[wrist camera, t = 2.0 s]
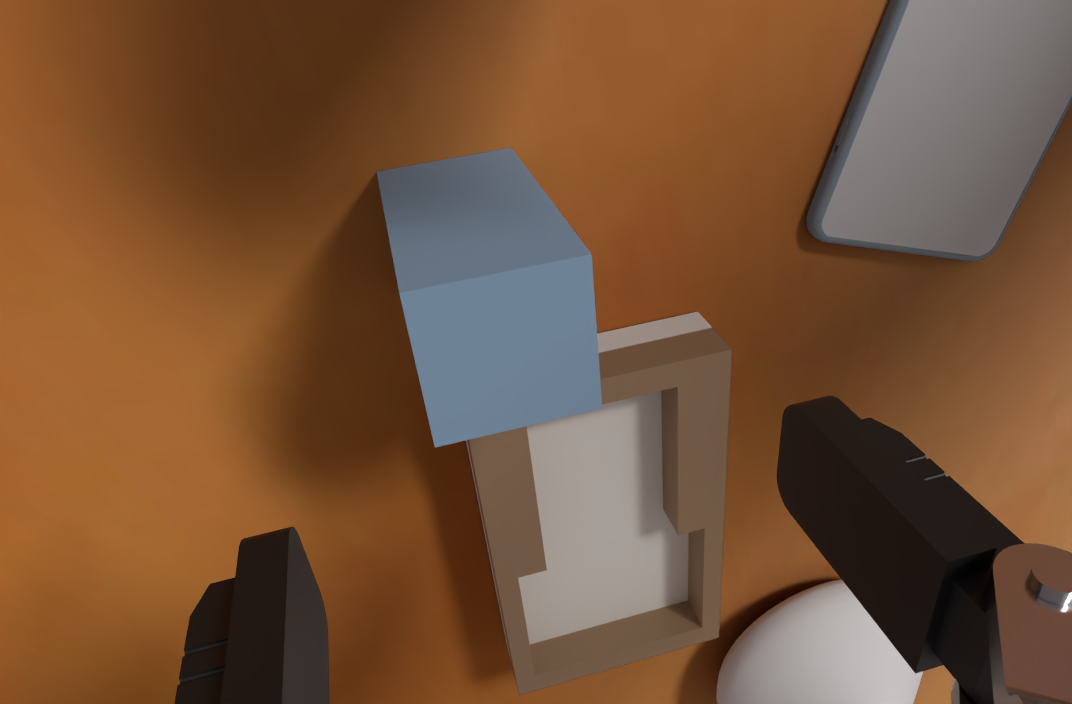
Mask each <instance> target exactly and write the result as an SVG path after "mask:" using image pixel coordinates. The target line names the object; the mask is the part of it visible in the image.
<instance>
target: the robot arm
mask: <svg viewBox="0 0 1072 704" xmlns="http://www.w3.org/2000/svg"><path fill="white" fill-rule="evenodd" d="M777 483H778V488H779V492H780V495H781V498H782V500H783V502H784V505H785V506H786V508H787V510H788V511H789V513H790V514H791V515H792V516H793V518H794V519H795V520H796V522H797V523H798V524H799V525H800V527H801V528H802V529H803V531H804V532H805V533H806V534H807V536H808V537H809V538H810V539H811V541H812V542H813V543H814V545H815V546H816V547H817V548H818V550H819V551H820V552H821V554H822V555H823V556H824V557H825V559H826V560H827V561H828V562H829V564H830V565H831V566H832V568H833V569H834V570H835V571H836V573H837V574H838V575H839V577H840V578H841V579H842V580H843V582H844V583H845V584H846V586H847V587H848V588H849V589H850V591H851V592H852V593H853V594H854V596H855V597H856V598H857V600H858V601H859V602H860V603H861V605H862V606H863V607H864V609H865V610H866V611H867V612H868V614H869V615H870V616H871V617H872V619H873V620H874V621H875V623H876V624H877V625H878V626H879V628H880V629H881V630H882V632H883V633H884V634H885V635H886V637H887V638H888V639H889V641H890V642H891V643H892V644H893V646H894V647H895V648H896V649H897V651H898V652H899V653H900V655H901V656H902V657H903V658H904V660H905V661H906V662H907V664H908V665H909V666H910V667H911V669H912V670H913V671H914V672H915V674H916V673H919V672H922V671H925V670H928V669H931V668H935V667H938V666H941V665H944V666H945V667H946V668H947V670H948V671H949V672H950V673H951V674H952V676H953V677H954V681H953V684H952V689H951V702H952V704H1072V553H1070V552H1068V551H1065V550H1062V549H1059V548H1056V547H1052V546H1048V545H1042V544H1031V543H1026V544H1025V543H1024V542H1022V541H1021V540H1020V539H1019V538H1018V537H1016V536H1015V535H1014V534H1013V533H1012V532H1011V531H1010V530H1009V529H1008V528H1006V527H1005V526H1004V525H1003V524H1002V523H1001V522H1000V521H999V520H998V519H996V518H995V517H994V516H993V515H992V514H991V513H990V512H989V511H988V510H986V509H985V508H984V507H983V506H982V505H981V504H980V503H979V502H978V501H976V500H975V499H974V498H973V497H972V496H971V495H970V494H969V493H968V492H966V491H965V490H964V489H963V488H962V487H961V486H960V485H959V484H958V483H956V482H955V481H954V480H953V479H952V478H951V477H950V476H948V477H946V476H945V474H944V471H943V470H942V469H941V468H940V467H939V466H938V465H936V464H935V463H934V462H933V461H932V460H931V459H926V457H925V454H924V453H923V452H922V451H921V450H920V449H919V448H918V447H916V446H915V445H914V444H913V443H912V442H911V441H910V440H909V439H907V438H906V437H905V436H904V435H903V434H902V433H900V432H898V431H896V430H894V429H892V428H890V427H888V426H886V425H884V424H882V423H880V422H878V421H876V420H874V419H872V418H866V419H862V420H861V419H860V418H859V417H858V416H857V415H856V414H854V413H853V412H852V411H851V410H850V409H849V408H848V407H847V406H846V405H845V404H844V403H843V402H842V401H841V400H839V399H838V398H836V397H834V396H826V397H822V398H818V399H814V400H809V401H805V402H801V403H797V404H793V405H790V406H788V407H786V409H785V410H784V413H783V418H782V428H781V438H780V448H779V458H778V467H777ZM184 651H185V656H184V657H183V659H182V664H181V670H180V676H179V679H180V685H178V687H177V692H176V698H175V704H329V657H328V627H327V619H326V613H325V608H324V603H323V599H322V596H321V593H320V590H319V587H318V585H317V582H316V579H315V577H314V574H313V572H312V569H311V566H310V564H309V561H308V558H307V556H306V553H305V551H304V548H303V545H302V543H301V540H300V537H299V535H298V533H297V531H296V529H295V528H294V527H289V528H285V529H281V530H277V531H273V532H269V533H265V534H261V535H257V536H252V537H248V538H244V539H242V540H241V542H240V545H239V551H238V560H237V568H236V576H235V578H231V579H227V580H224V581H220V582H216V583H212V584H210V585H209V586H208V588H207V590H206V591H205V593H204V595H203V596H202V598H201V599H200V601H199V603H198V604H197V606H196V608H195V609H194V611H193V612H192V614H191V616H190V619H189V625H188V630H187V636H186V642H185V647H184Z"/></svg>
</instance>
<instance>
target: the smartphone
mask: <svg viewBox="0 0 1072 704" xmlns="http://www.w3.org/2000/svg"><path fill="white" fill-rule="evenodd" d="M1071 103H1072V0H890V1H889V4H888V6H887V9H886V11H885V14H884V17H883V19H882V22H881V24H880V27H879V29H878V32H877V34H876V37H875V39H874V42H873V45H872V47H871V50H870V52H869V55H868V57H867V60H866V63H865V65H864V68H863V70H862V73H861V75H860V78H859V81H858V83H857V86H856V88H855V91H854V93H853V96H852V99H851V101H850V104H849V106H848V109H847V112H846V114H845V117H844V119H843V122H842V124H841V127H840V130H839V132H838V135H837V137H836V140H835V142H834V145H833V148H832V150H831V153H830V155H829V158H828V161H827V163H826V166H825V168H824V171H823V173H822V176H821V179H820V181H819V184H818V186H817V189H816V192H815V194H814V197H813V200H812V202H811V205H810V207H809V210H808V213H807V217H806V225H807V229H808V231H809V232H810V234H811V235H812V236H813V237H815V238H816V239H818V240H819V241H822V242H826V243H833V244H841V245H849V246H856V247H864V248H872V249H879V250H887V251H895V252H902V253H910V254H917V255H925V256H933V257H940V258H948V259H956V260H963V261H978V260H981V259H983V258H985V257H987V256H988V255H990V254H991V253H992V252H993V251H994V250H995V249H996V247H997V246H998V245H999V243H1000V241H1001V239H1002V237H1003V235H1004V233H1005V231H1006V229H1007V227H1008V225H1009V223H1010V221H1011V219H1012V217H1013V216H1014V214H1015V212H1016V210H1017V208H1018V206H1019V204H1020V202H1021V200H1022V198H1023V196H1024V194H1025V192H1026V190H1027V188H1028V186H1029V185H1030V183H1031V181H1032V179H1033V177H1034V175H1035V173H1036V171H1037V169H1038V167H1039V165H1040V163H1041V161H1042V159H1043V157H1044V155H1045V153H1046V152H1047V150H1048V148H1049V146H1050V144H1051V142H1052V140H1053V138H1054V136H1055V134H1056V132H1057V130H1058V128H1059V126H1060V124H1061V122H1062V120H1063V119H1064V117H1065V115H1066V113H1067V111H1068V109H1069V107H1070V105H1071Z"/></svg>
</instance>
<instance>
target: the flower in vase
mask: <svg viewBox="0 0 1072 704" xmlns="http://www.w3.org/2000/svg"><path fill="white" fill-rule="evenodd" d="M922 673H923V671H922V672H919V673H916V674H915V672H914V671H913V670H912V669H911V667H910V666H909V665H908V664H907V662H906V661H905V660H904V658H903V657H902V656H901V655H900V653H899V652H898V651H897V649H896V648H895V647H894V646H893V644H892V643H891V642H890V641H889V639H888V638H887V637H886V635H885V634H884V633H883V632H882V630H881V629H880V628H879V626H878V625H877V624H876V623H875V621H874V620H873V619H872V617H871V616H870V615H869V614H868V612H867V611H866V610H865V609H864V607H863V606H862V605H861V603H860V602H859V601H858V600H857V598H856V597H855V596H854V594H853V593H852V592H851V591H850V589H849V588H848V587H847V586H846V584H845V583H844V582H843V580H842V579H839V580H834V581H830V582H826V583H823V584H820V585H817V586H814V587H811V588H809V589H806V590H804V591H802V592H799V593H797V594H795V595H793V596H791V597H789V598H788V599H786V600H784V601H782V602H781V603H779V604H777V605H776V606H774V607H773V608H771V609H770V610H768V611H767V612H765V613H764V614H763V615H762V616H760V617H759V618H758V619H757V620H755V621H754V622H753V623H752V624H751V625H750V626H749V627H748V628H747V629H746V630H745V631H744V632H743V633H742V634H741V635H740V636H739V638H738V639H737V640H736V641H735V643H734V644H733V645H732V647H731V648H730V649H729V651H728V653H727V655H726V656H725V658H724V660H723V663H722V665H721V668H720V672H719V676H718V683H717V691H716V700H717V704H913V702H914V699H915V696H916V693H917V690H918V687H919V684H920V680H921V677H922Z"/></svg>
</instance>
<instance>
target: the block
mask: <svg viewBox="0 0 1072 704" xmlns="http://www.w3.org/2000/svg"><path fill="white" fill-rule="evenodd" d="M377 177H378V183H379V188H380V193H381V199H382V204H383V209H384V215H385V220H386V225H387V231H388V236H389V241H390V247H391V252H392V257H393V263H394V268H395V273H396V279H397V284H398V289H399V294H400V299H401V303H402V307H403V312H404V316H405V320H406V325H407V329H408V333H409V338H410V342H411V346H412V351H413V355H414V359H415V364H416V368H417V372H418V377H419V381H420V385H421V390H422V394H423V398H424V403H425V407H426V411H427V416H428V420H429V424H430V429H431V433H432V437H433V442H434V446H435V448H436V447H440V446H444V445H448V444H453V443H457V442H461V441H465V440H470V439H474V438H478V437H482V436H487V435H491V434H495V433H500V432H504V431H508V430H512V429H517V428H521V427H525V426H529V425H534V424H538V423H542V422H546V421H551V420H555V419H559V418H563V417H568V416H572V415H576V414H580V413H585V412H589V411H593V410H598V409H602V397H601V382H600V368H599V354H598V339H597V325H596V311H595V296H594V282H593V267H592V254H591V253H590V251H589V250H588V249H587V247H586V246H585V245H584V243H583V242H582V241H581V240H580V238H579V237H578V236H577V234H576V233H575V232H574V230H573V229H572V228H571V226H570V225H569V224H568V222H567V221H566V220H565V218H564V217H563V216H562V214H561V213H560V212H559V210H558V209H557V208H556V206H555V205H554V204H553V202H552V201H551V200H550V199H549V197H548V196H547V195H546V193H545V192H544V191H543V189H542V188H541V187H540V185H539V184H538V183H537V181H536V180H535V179H534V177H533V176H532V175H531V173H530V172H529V171H528V169H527V168H526V167H525V165H524V164H523V163H522V161H521V160H520V159H519V158H518V156H517V155H516V154H515V152H514V151H513V150H512V148H507V149H501V150H496V151H490V152H484V153H479V154H473V155H467V156H462V157H456V158H450V159H445V160H439V161H434V162H428V163H422V164H417V165H411V166H405V167H400V168H394V169H389V170H383V171H377Z"/></svg>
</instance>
